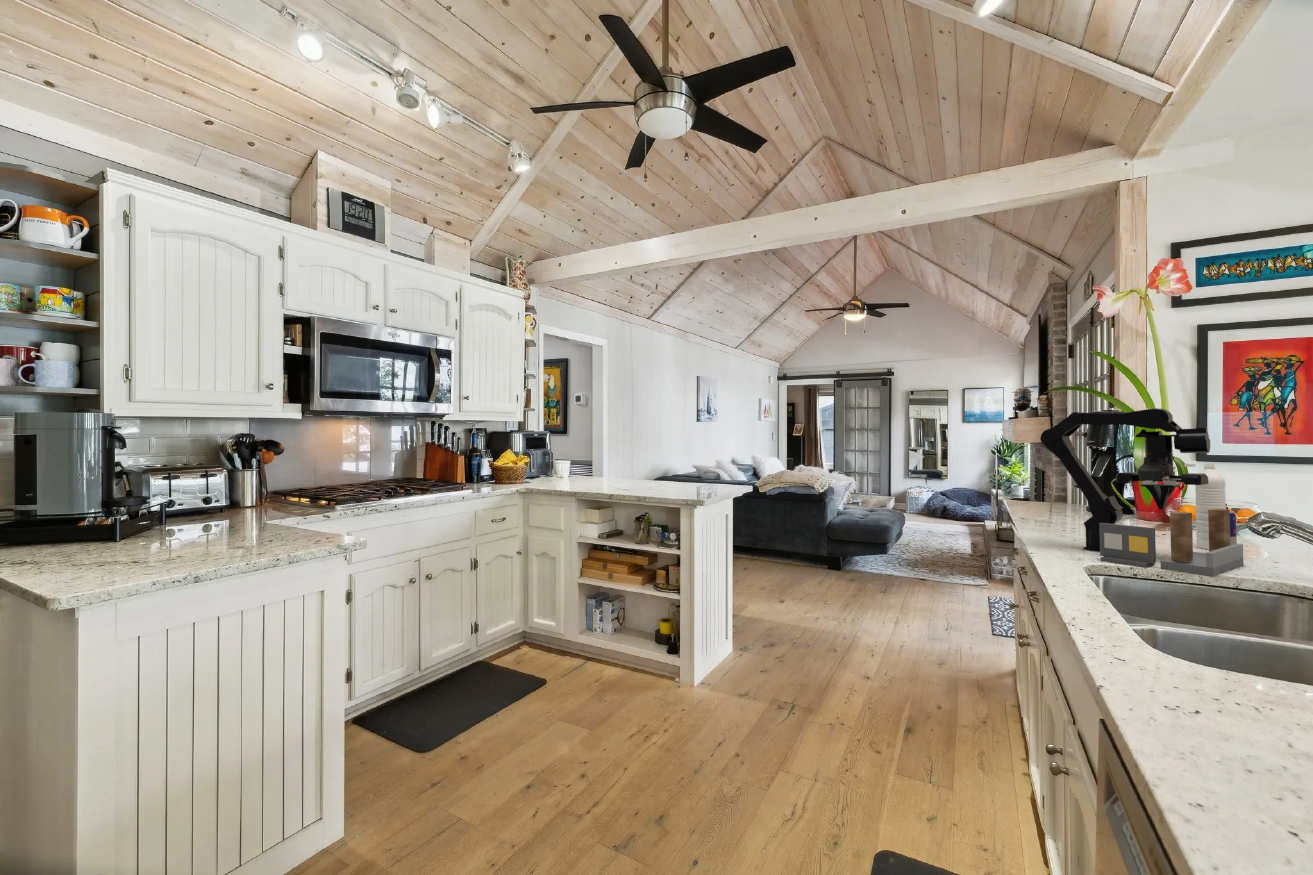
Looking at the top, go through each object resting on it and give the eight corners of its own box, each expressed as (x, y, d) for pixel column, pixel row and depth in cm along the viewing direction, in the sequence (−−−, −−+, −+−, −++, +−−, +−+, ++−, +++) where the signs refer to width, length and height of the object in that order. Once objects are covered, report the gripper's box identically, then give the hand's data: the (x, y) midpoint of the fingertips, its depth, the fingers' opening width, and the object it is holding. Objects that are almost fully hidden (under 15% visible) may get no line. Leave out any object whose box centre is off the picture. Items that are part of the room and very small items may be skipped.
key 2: (1209, 555, 150) (1208, 509, 150) (1215, 553, 152) (1214, 508, 152) (1224, 557, 148) (1223, 510, 148) (1230, 555, 150) (1229, 509, 150)
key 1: (1171, 560, 146) (1169, 512, 146) (1177, 558, 148) (1176, 511, 148) (1186, 562, 143) (1185, 514, 143) (1193, 560, 145) (1191, 512, 145)
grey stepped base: (1160, 568, 147) (1160, 547, 147) (1192, 558, 157) (1192, 538, 157) (1213, 576, 138) (1212, 553, 138) (1243, 565, 148) (1242, 544, 148)
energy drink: (1242, 556, 158) (1241, 513, 158) (1219, 556, 159) (1218, 512, 159) (1227, 552, 163) (1226, 510, 163) (1205, 552, 164) (1204, 510, 164)
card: (1096, 560, 158) (1095, 523, 158) (1105, 558, 161) (1104, 522, 161) (1150, 568, 148) (1149, 529, 148) (1159, 565, 150) (1158, 527, 150)
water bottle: (1224, 547, 171) (1222, 462, 171) (1229, 551, 165) (1227, 464, 165) (1184, 544, 176) (1182, 462, 176) (1188, 548, 170) (1186, 463, 170)
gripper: (1106, 454, 165) (1108, 509, 164) (1191, 454, 149) (1194, 514, 148) (1123, 453, 170) (1125, 506, 170) (1207, 452, 154) (1210, 511, 154)
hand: (1161, 509), depth 160 cm, fingers closed
